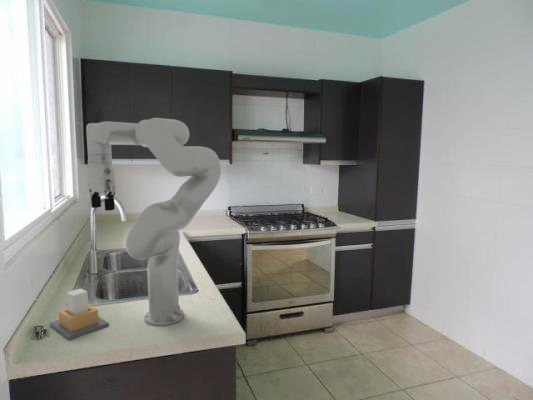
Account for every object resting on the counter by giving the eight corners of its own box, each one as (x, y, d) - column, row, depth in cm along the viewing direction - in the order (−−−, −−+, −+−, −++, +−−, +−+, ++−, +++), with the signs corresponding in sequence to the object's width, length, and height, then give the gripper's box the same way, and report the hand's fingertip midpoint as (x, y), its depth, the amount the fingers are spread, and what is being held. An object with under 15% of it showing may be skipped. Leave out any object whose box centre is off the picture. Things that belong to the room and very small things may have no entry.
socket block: (108, 325, 119) (107, 310, 119) (68, 340, 110) (67, 323, 110) (88, 313, 128) (87, 299, 128) (50, 325, 119) (48, 310, 119)
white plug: (89, 322, 119) (87, 291, 118) (75, 327, 116) (72, 295, 115) (83, 318, 122) (81, 288, 121) (68, 322, 119) (66, 292, 118)
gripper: (123, 159, 128) (125, 209, 130) (99, 159, 139) (101, 205, 142) (101, 160, 123) (104, 212, 125) (78, 159, 134) (81, 207, 136)
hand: (103, 208), depth 133 cm, fingers open, 9 cm apart
